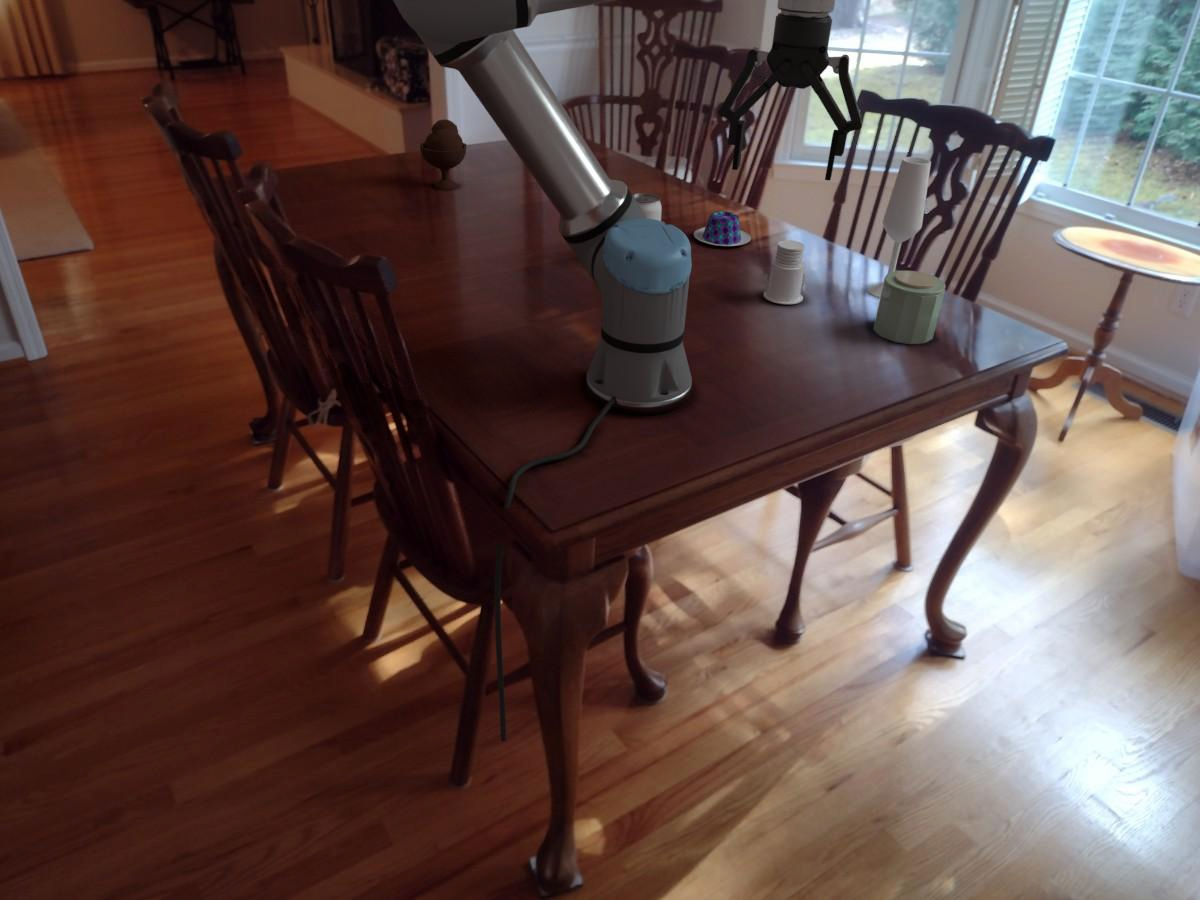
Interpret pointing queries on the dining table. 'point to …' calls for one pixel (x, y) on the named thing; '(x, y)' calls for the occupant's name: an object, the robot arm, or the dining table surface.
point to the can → (649, 205)
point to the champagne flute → (905, 207)
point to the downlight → (786, 274)
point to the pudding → (722, 230)
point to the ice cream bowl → (444, 151)
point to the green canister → (909, 307)
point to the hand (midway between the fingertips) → (781, 173)
